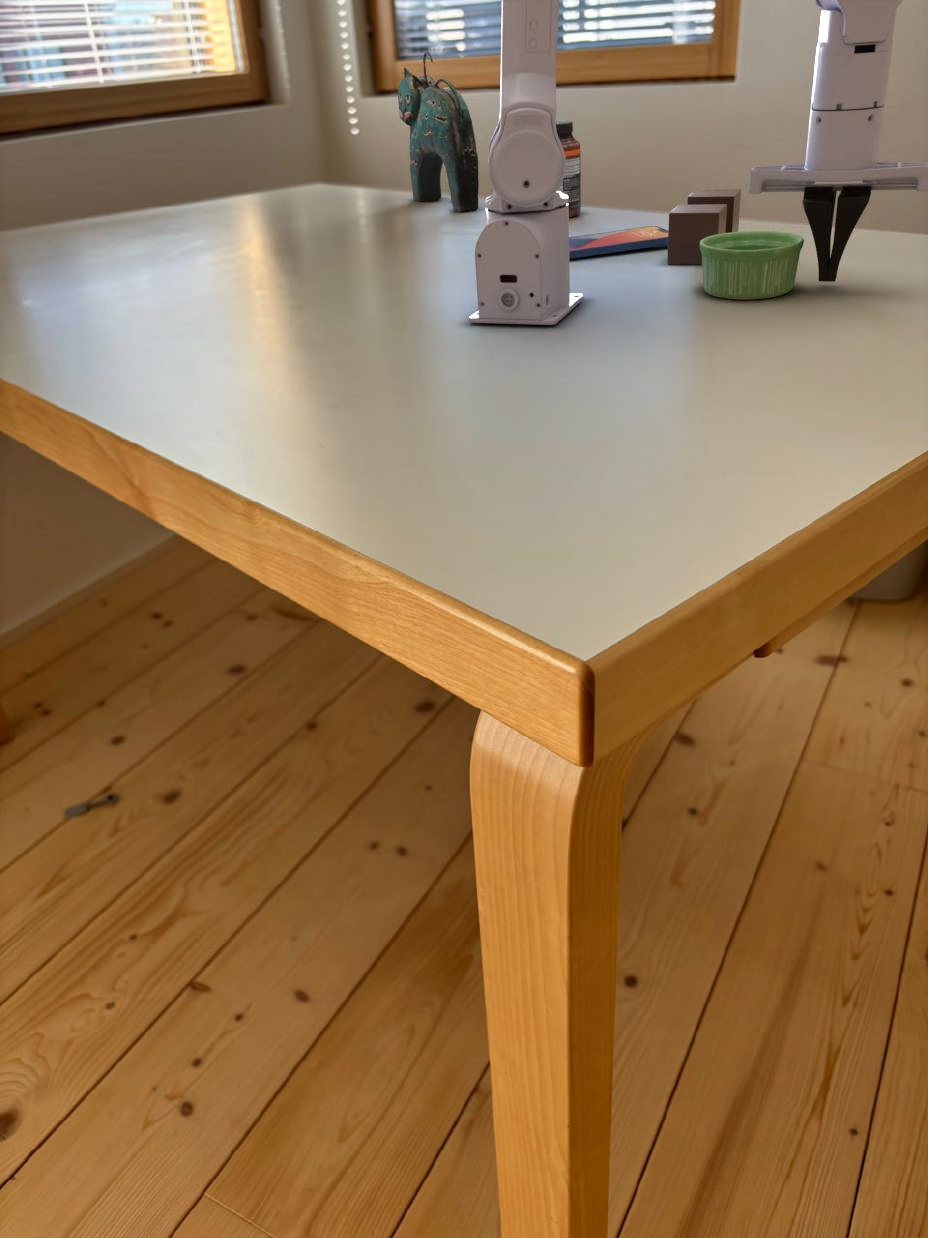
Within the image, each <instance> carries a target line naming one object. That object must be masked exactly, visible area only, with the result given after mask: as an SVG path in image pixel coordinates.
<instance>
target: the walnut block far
mask: <svg viewBox="0 0 928 1238" xmlns="http://www.w3.org/2000/svg"><path fill="white" fill-rule="evenodd" d="M741 196H742V189H741V188H726V189H725V188H722V189H719V188H718V189H695V190H694V191H693V192H692V193H690V194H689V195H688V196H687V197H686V198H687V199H686V200H687V201H686V205H704V204H727V215H726V231H725V233H730V232H739V228H740V227H739V225H740V211H741V199H742V198H741Z"/></svg>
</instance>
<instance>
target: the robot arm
mask: <svg viewBox="0 0 928 1238" xmlns="http://www.w3.org/2000/svg"><path fill="white" fill-rule="evenodd" d="M813 1H814V3H815V5H816V6H817V7H819V8H822V10H821V12H820V20H819V21H820V23H819V30H818V31H819V32H818V42H817V46H816V51H815V62H814V71H813V80H812V81H813V82H812V91H811V102H810V110H809V111H810V112H809V120H808V121H809V122H808V131H807V142H806V151H805V162H804V163H797V164H784V165H783V164H782V165H769V166H753V167H752V168H751V169H750V171H749V183H748V195H749V194H750V195H754V194H755V195H760V194H762V193H793V192H794V193H795V192H798V193H799V192H800V193H801V192H803V199H802V200H801V202H802V207H803V211H804V213H805V216H806V219H807V221H808V224H809V226H810V227H809V228H810V231H811V234H812V237H813V243H814V246H815V251H816V258H817V267H818V279H817V280H818V282H820V283H821V282H824V283H827V282H828V283H831V282H832V283H834V282H836V280H837V277H838V271H839V267H840V262H841V259H842V257H843V254H844V251H845V249H846V247H847V244H848V243H849V240H850V238H851V235H852V234H853V231H854V229H855V227H856V225H857V224H858V222H859V220H860V219H861V217H862V215H863V213H864V211H865V209H866V208H867V206H868V204H869V202H870V200H871V195H872V191H917V192H928V162H904V161H903V162H900V161H897V162H895V161H878V159H879V152H880V145H881V136H882V129H883V122H884V114H885V113H884V112H885V105H886V100H887V92H888V86H889V85H888V84H889V76H890V70H891V62H892V56H893V55H892V53H893V46H894V35H895V34H894V33H895V27H896V25H895V24H896V18H897V10H898V8H899V7H900V5H901V4H902V3H903V2H904V0H813ZM559 10H560V0H501V41H500V42H501V43H500V44H501V45H500V46H501V47H500V88H499V89H500V95H499V117H498V123H497V126H496V128H495V130H494V132H493V134H492V136H491V138H490V141H489V145H488V151H487V152H488V153H487V154H488V155H487V158H488V159H487V172H488V178H489V183H490V184H491V186H492V188H493V192H492V193H491V194H490V195H489V196H487V197H486V198H485V199H484V208H485V209H484V214H485V215H484V216H485V226H484V228H483V229H482V231H481V232H480V234H479V236H478V237H477V240H476V244H475V247H474V260H475V261H474V263H475V276H476V277H475V279H476V280H475V281H476V296H477V309H478V310H477V311H475V312H474V313H473V314H471V315H470V316H469V317H468V322H469V323H472V324H503V325H504V324H505V325H533V326H534V325H536V326H554V325H557V324H558V323H559V322H560V321H561V320H562V319H563V318H564V317H566V315H568V314H569V313H570V312H571V311H572V310H573V309H574V308H575V307H576V306H578V304H580V303H581V302H582V301H583V300H584V294H583V293H571V285H570V284H571V283H570V279H571V278H570V276H571V275H570V271H571V270H570V259H569V237H570V217H569V204H568V201H569V197H568V195H565V194H563V193H561V192H560V191H559V190H558V189H559V187H560V185H561V184H562V181H563V178H564V175H565V170H566V158H565V153H564V149H563V147H562V145H561V142H560V140H559V138H558V134H557V130H556V121H557V60H558V57H557V56H558V38H559V37H558V35H559ZM859 181H860V182H861V183H860V182H859ZM816 182H818V183H816ZM819 182H821V183H819ZM822 182H823V183H822ZM824 182H826V183H824ZM844 182H851V183H844ZM853 182H855V183H853ZM856 182H859V183H856ZM837 192H840V193H839V194H837ZM837 195H838V196H837ZM835 206H836V207H835ZM835 208H836V211H835ZM834 215H835V220H834ZM834 221H835V222H834ZM833 222H834V223H833ZM833 225H834V231H833ZM832 231H833V241H832ZM831 245H832V248H831Z"/></svg>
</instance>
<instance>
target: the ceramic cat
mask: <svg viewBox="0 0 928 1238" xmlns="http://www.w3.org/2000/svg"><path fill="white" fill-rule="evenodd" d="M422 56H423V57H422V62H423V75H415V74H413V73H412V72H410V71H409V69H408V68H406V67H403V69H404V70H403V75H404V76H403V78H402V79H400V82H399V84H398V88H397V102H398V116H399V119H400V120H401V121H402V122H403V123H405V125H407V126H409V132H410V133H409V174H410V181H411V189H412V199H413V200H414V201H417V202H431V201H437V200H441V199H442V189H441V188H442V187H441V174H442V169H443V165H444V168H445V173H446V177H447V182H448V188H449V193H450V194H449V195H450V200H451V204H452V207H453V208H452V209H453V211H454V212H459V213H464V212H471V211H477V210H478V209H479V189H480V188H479V187H480V183H479V182H480V181H479V155H478V150H477V143H476V135H475V130H474V126H473V125H474V123H473V120H472V116H471V114H470V110H469V108H468V105H467V103H466V101H465V99H464V97H463V95H462V94H461V92H459V91H458V90H457V89H456V88H455V86H454V85H453V84H452V82H451V81H450V80H448V79H445V78H439V79H438V80H436V79H435V77H434V76H432V75H430V74H427V66H426V61H427V58H428V59H429V61H430V63H433V61H434V60H433V57H432V55H431V52H429V51H427V50H425V51H424V53H423V55H422ZM440 83H444V84H445V85H446V86H447V87H440V86H439V85H440Z"/></svg>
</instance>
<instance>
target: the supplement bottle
mask: <svg viewBox="0 0 928 1238" xmlns="http://www.w3.org/2000/svg"><path fill="white" fill-rule="evenodd" d="M573 123H574V122H573V120H569V119H566V120H565V119H561V120H560V119H559V120H558V119H556V130H557V134H558V138H559V140H560V142H561V145H562V147H563V149H564V153H565V158H566V170H565V175H564V178H563V181H562V184H561V185H560V187H559V189H558V190H559V191H560V192H561V193H563V194H565V195H568V197H569V201H568V204H569V218H573V217H576V216H578V215H579V214H580V213H581V205H582V192H581V191H582V189H581V188H582V186H581V184H582V180H581V179H582V178H581V177H582V175H581V173H582V171H581V169H582V168H581V167H582V166H581V165H582V164H581V163H582V162H581V160H582V159H581V144H580V141H579V140H578V139H577V138H575V137H574V135H573V132H574V124H573Z"/></svg>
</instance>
